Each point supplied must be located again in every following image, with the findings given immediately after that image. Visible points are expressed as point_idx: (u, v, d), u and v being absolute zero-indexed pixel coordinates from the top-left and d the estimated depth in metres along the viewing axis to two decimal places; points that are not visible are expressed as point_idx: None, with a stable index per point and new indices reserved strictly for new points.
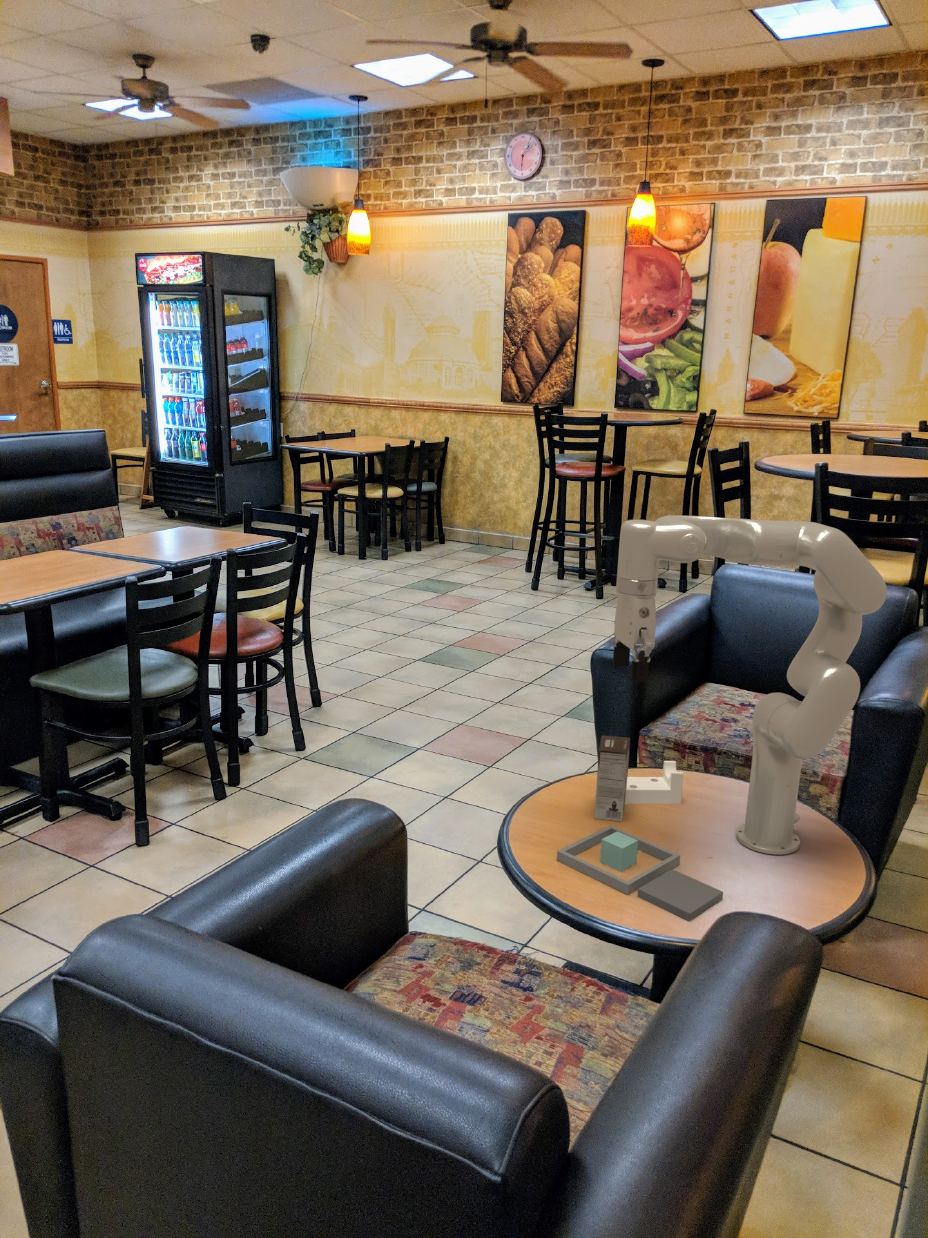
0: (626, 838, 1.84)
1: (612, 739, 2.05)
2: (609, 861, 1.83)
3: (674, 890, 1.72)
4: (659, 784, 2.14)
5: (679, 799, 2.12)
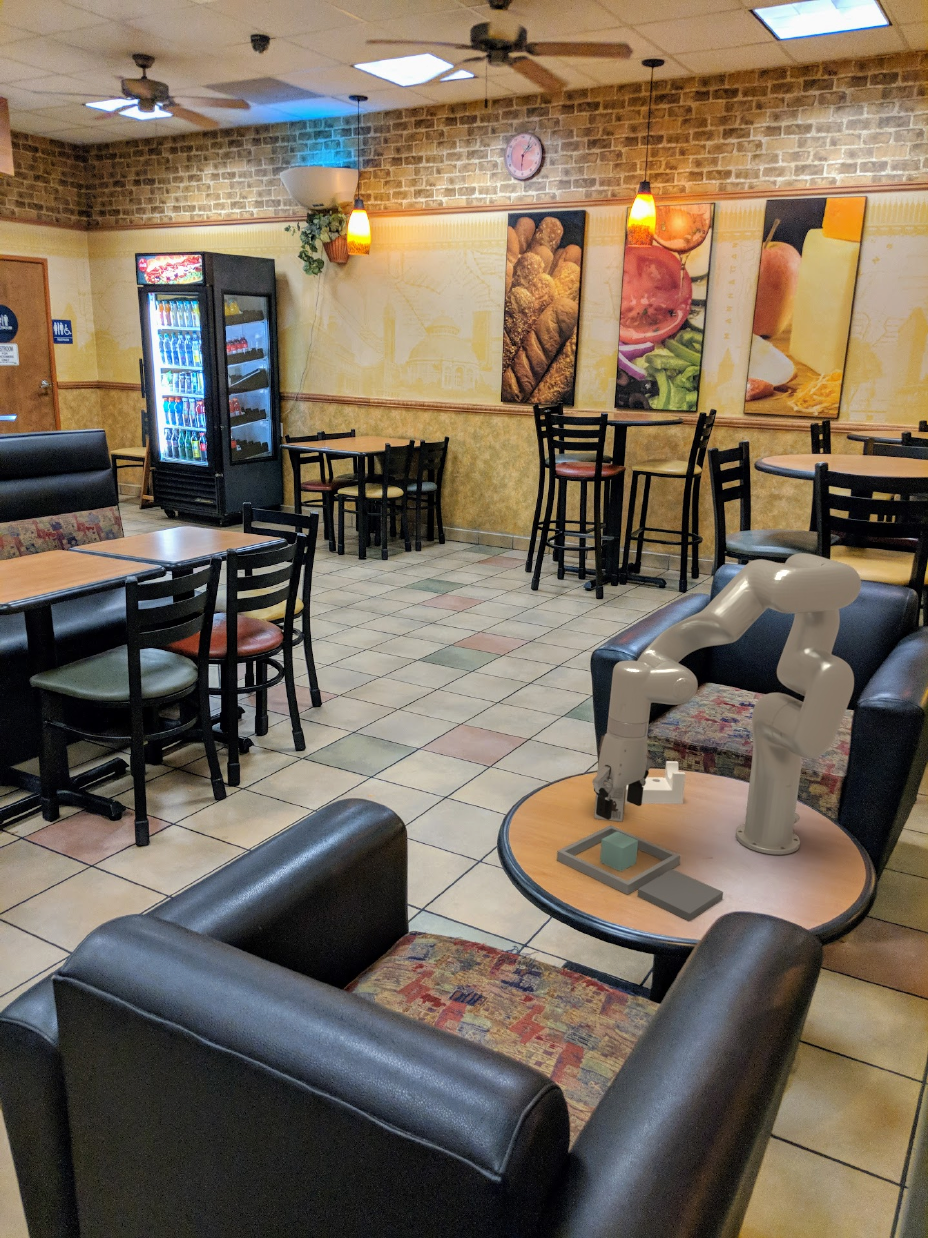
0: (626, 838, 1.84)
1: None
2: (609, 861, 1.83)
3: (674, 890, 1.72)
4: (661, 784, 2.14)
5: (681, 799, 2.12)
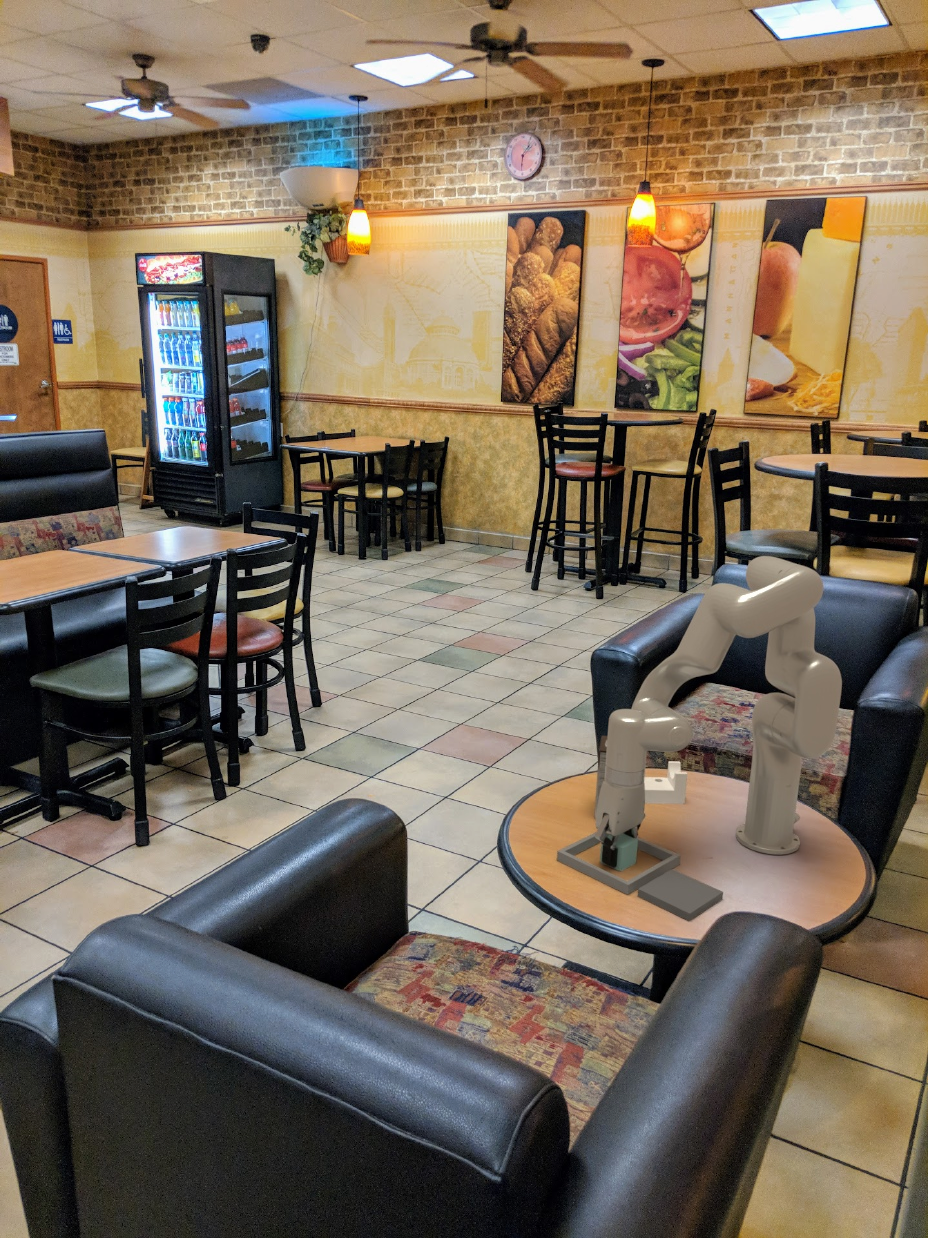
0: (626, 838, 1.84)
1: None
2: None
3: (674, 890, 1.72)
4: (663, 784, 2.14)
5: (683, 800, 2.12)
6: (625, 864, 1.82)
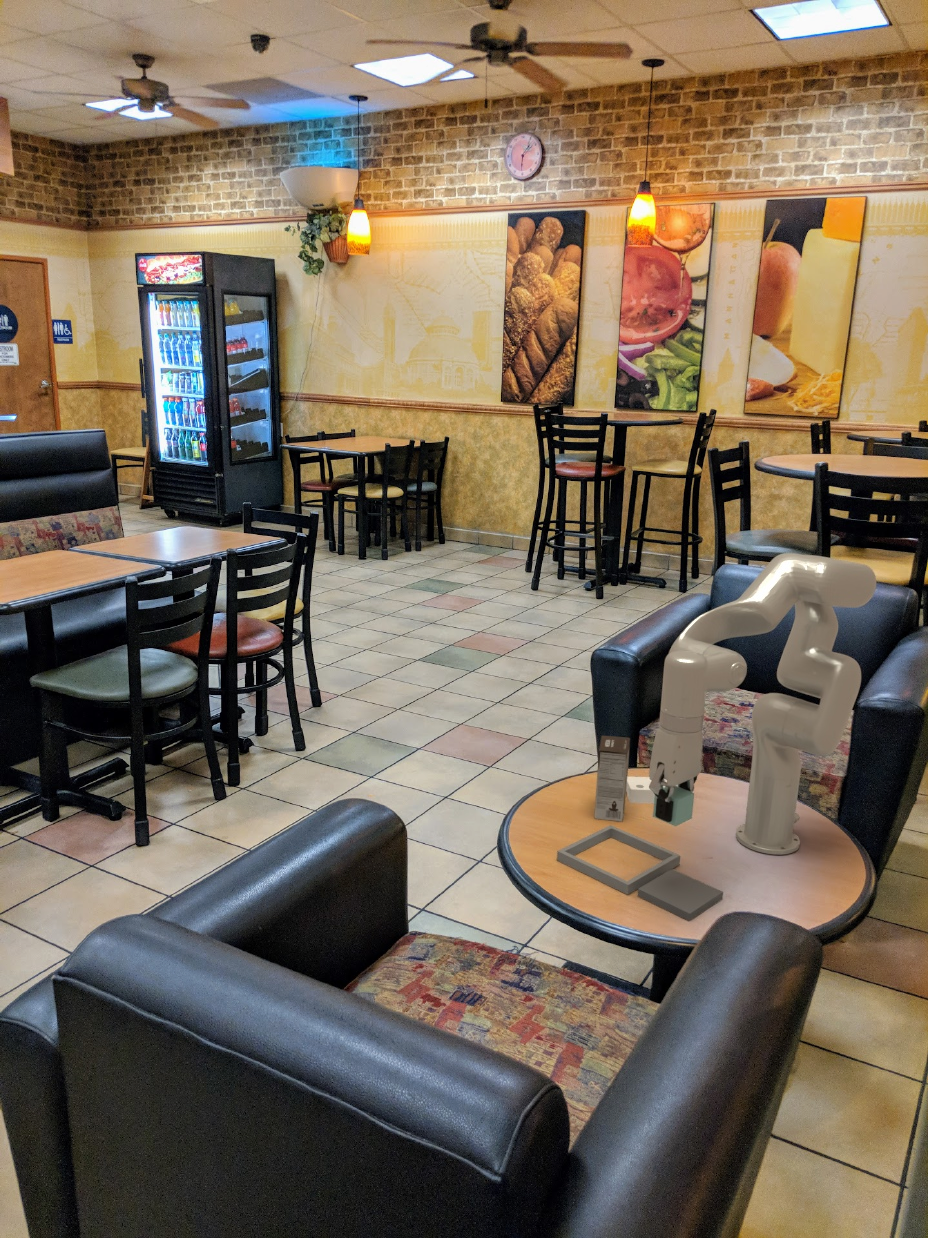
0: (681, 791, 1.71)
1: (612, 739, 2.05)
2: None
3: (674, 890, 1.72)
4: None
5: None
6: (681, 818, 1.69)
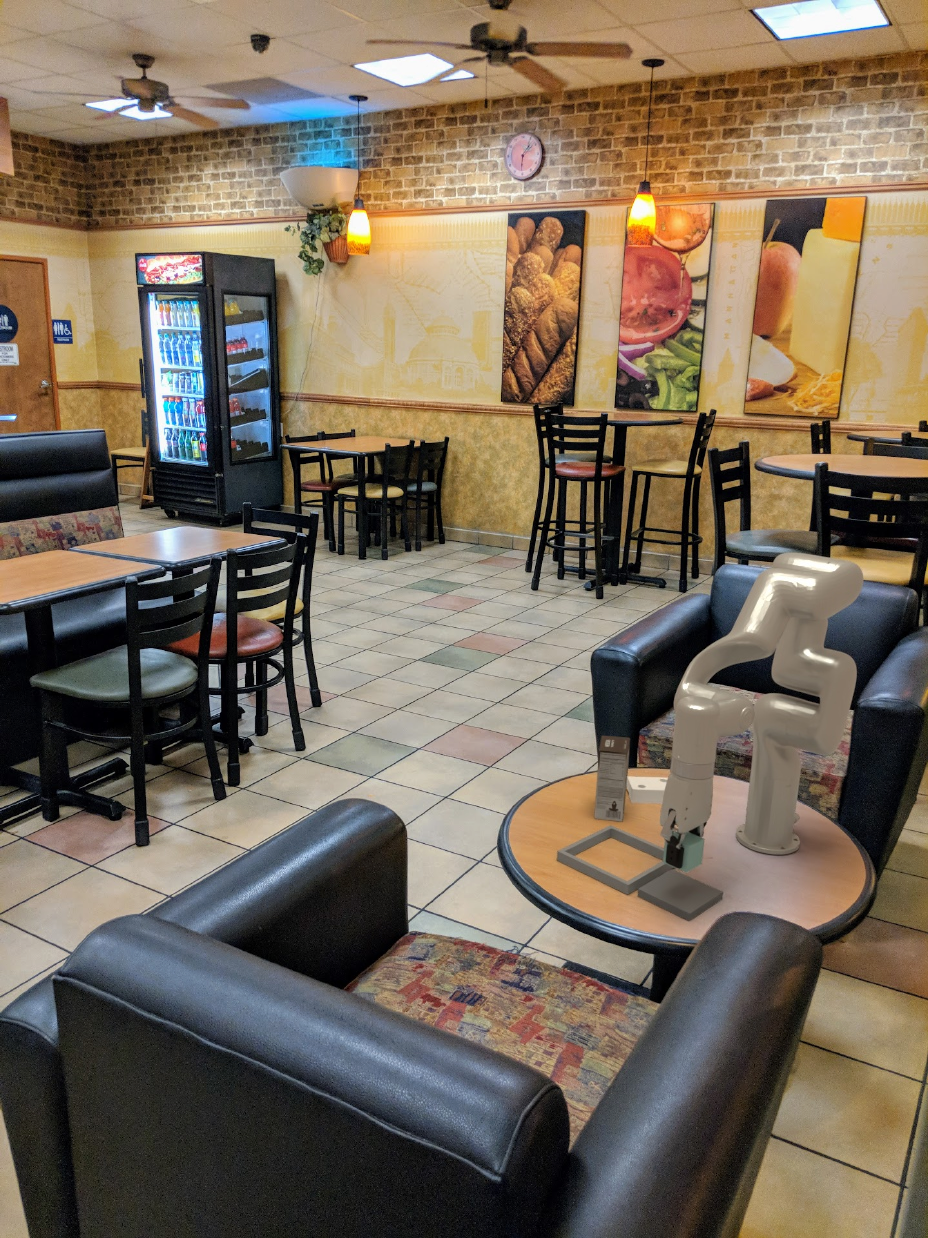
0: (692, 836, 1.70)
1: (612, 739, 2.05)
2: None
3: (674, 890, 1.72)
4: None
5: None
6: (691, 865, 1.68)
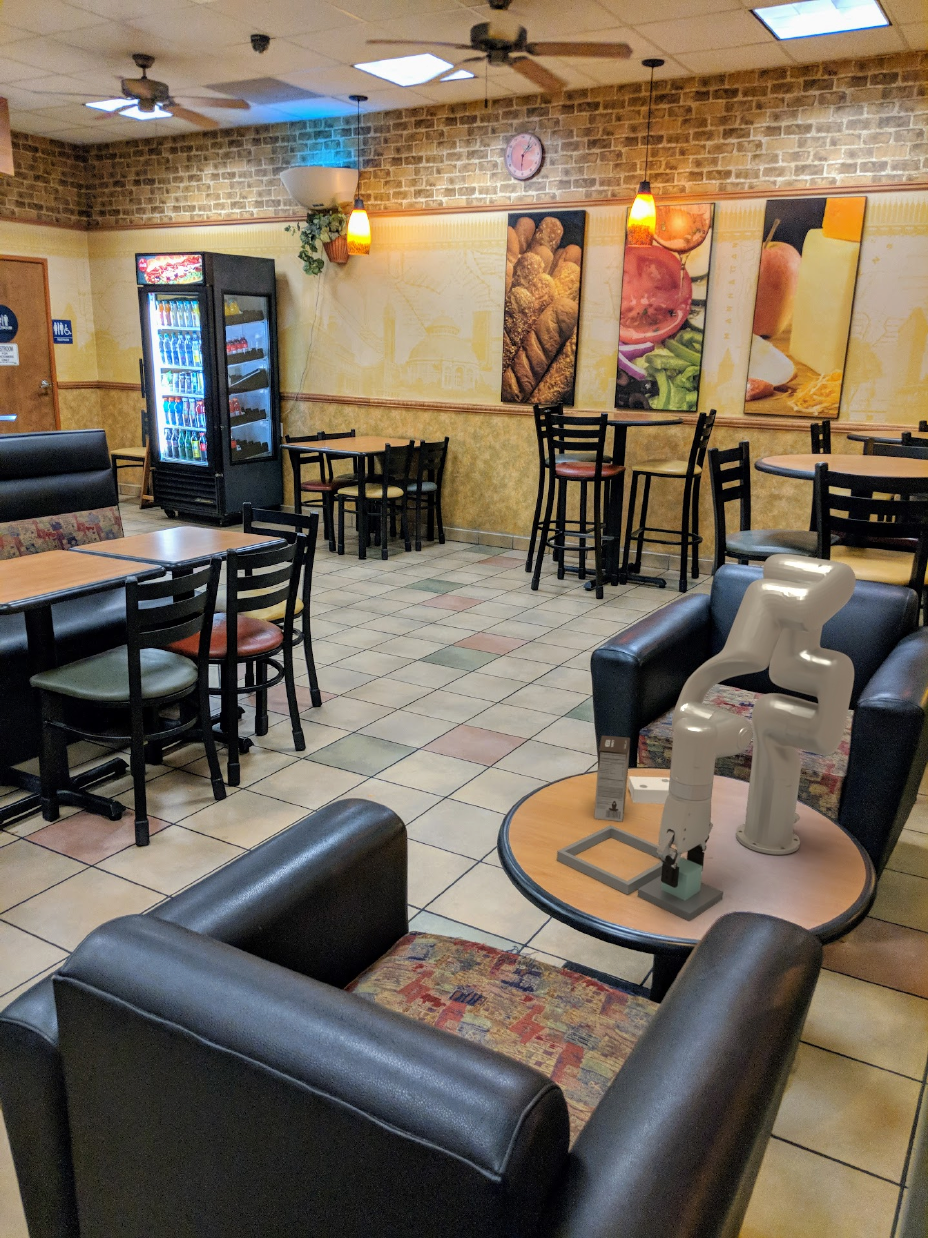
0: (690, 863, 1.72)
1: (612, 739, 2.05)
2: (672, 888, 1.71)
3: None
4: None
5: None
6: (689, 892, 1.70)
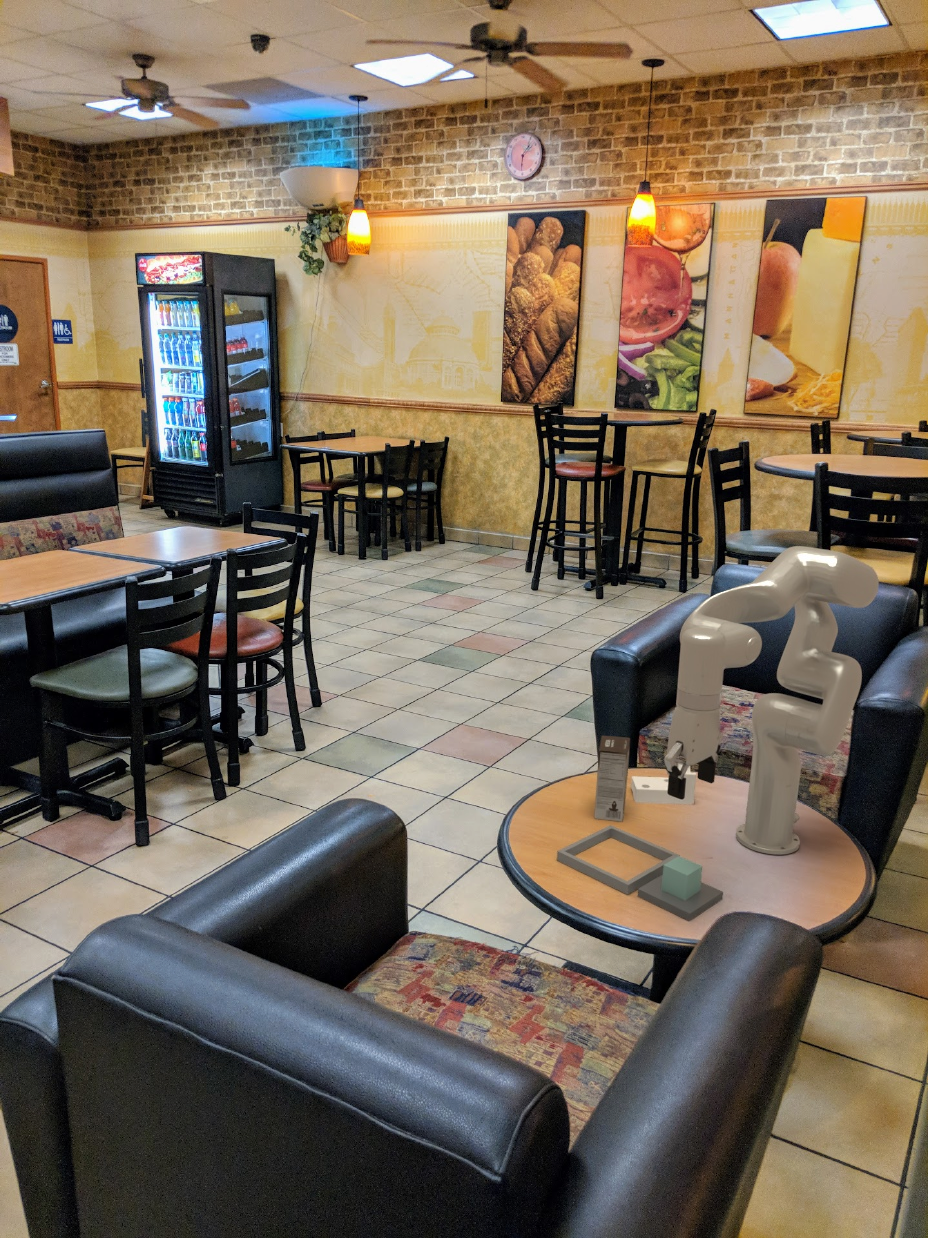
0: (690, 863, 1.72)
1: (612, 739, 2.05)
2: (672, 888, 1.71)
3: None
4: None
5: (692, 800, 2.11)
6: (689, 892, 1.70)
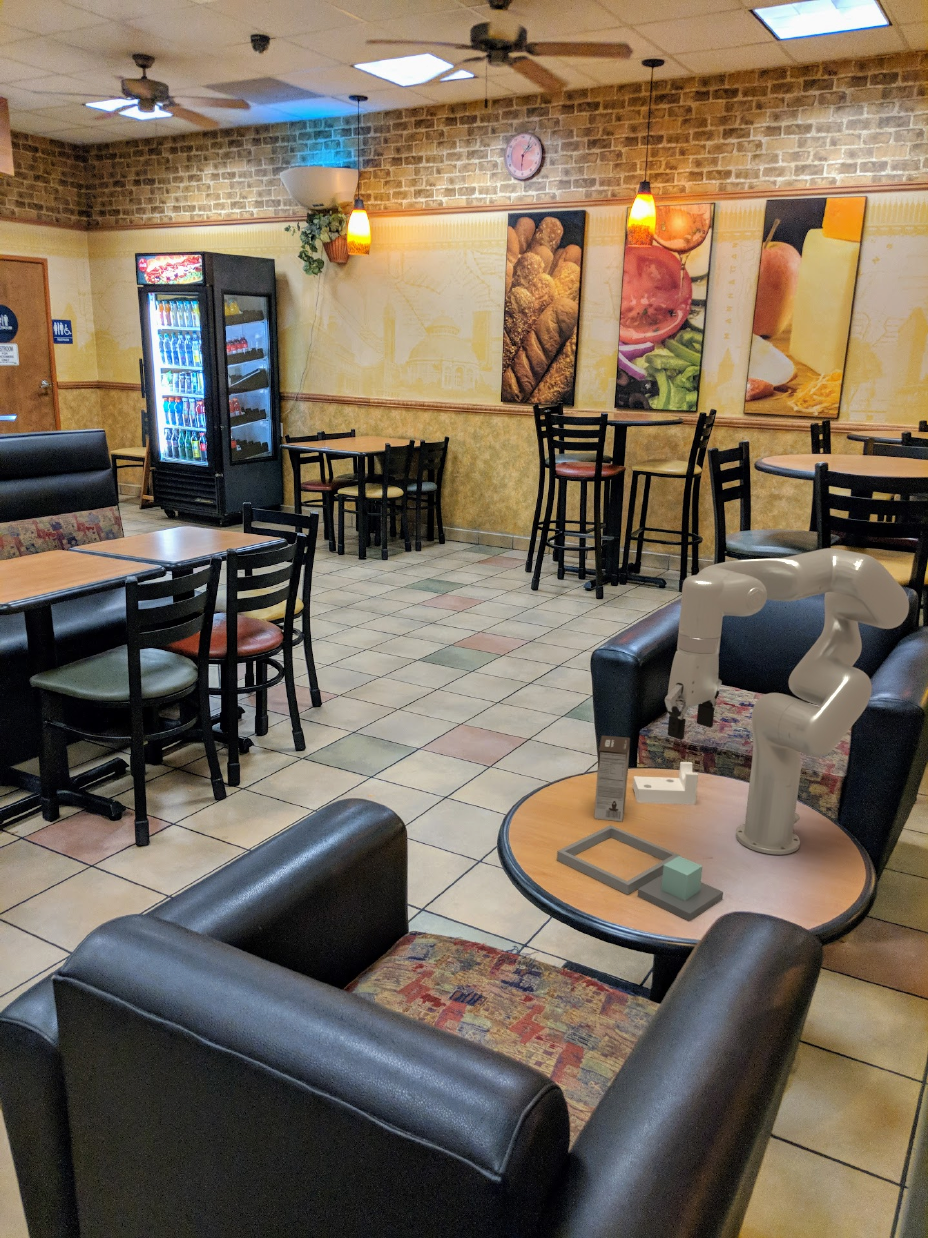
0: (690, 863, 1.72)
1: (612, 739, 2.05)
2: (672, 888, 1.71)
3: None
4: (674, 785, 2.14)
5: (693, 800, 2.11)
6: (689, 892, 1.70)
